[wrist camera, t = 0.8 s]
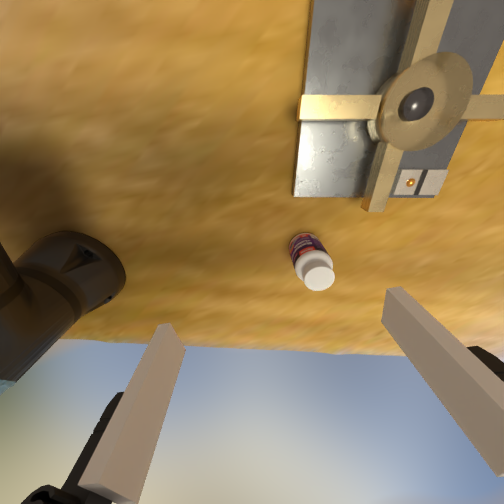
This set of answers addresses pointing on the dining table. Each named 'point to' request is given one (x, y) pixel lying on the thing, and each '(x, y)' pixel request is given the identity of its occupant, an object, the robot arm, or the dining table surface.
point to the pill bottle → (311, 261)
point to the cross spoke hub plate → (370, 81)
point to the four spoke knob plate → (410, 101)
